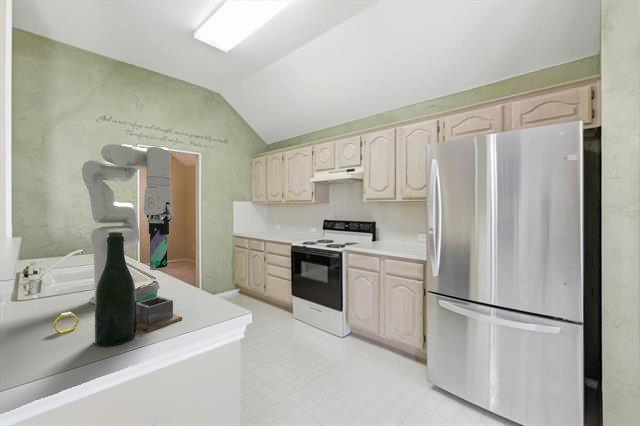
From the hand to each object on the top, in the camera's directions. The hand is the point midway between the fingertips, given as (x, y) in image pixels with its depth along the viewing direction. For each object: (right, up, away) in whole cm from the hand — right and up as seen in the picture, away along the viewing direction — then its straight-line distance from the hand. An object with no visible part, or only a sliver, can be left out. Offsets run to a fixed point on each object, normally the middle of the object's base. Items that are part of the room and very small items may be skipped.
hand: (158, 233), depth 101 cm
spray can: (0, -13, 0) cm, 13 cm away
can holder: (-1, -31, 0) cm, 31 cm away
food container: (-10, -31, +10) cm, 34 cm away
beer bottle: (-5, -32, -14) cm, 35 cm away
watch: (-25, -31, -9) cm, 41 cm away
